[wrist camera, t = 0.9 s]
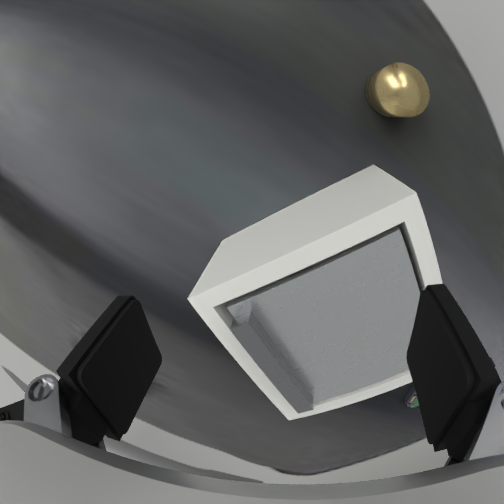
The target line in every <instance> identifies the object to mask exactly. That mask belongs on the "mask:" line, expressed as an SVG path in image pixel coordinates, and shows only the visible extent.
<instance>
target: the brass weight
mask: <svg viewBox="0 0 504 504" xmlns="http://www.w3.org/2000/svg"><path fill="white" fill-rule="evenodd" d="M365 95H366V99H367V101H368V103H369V105H370V106H371V107H372V108H373V109H374V110H375V111H376V112H377V113H379V114H381V115H383V116H386V117H414V116H417V115H419V114H420V113H422V112H423V111H424V110H425V108H426V107H427V105H428V102H429V96H430V94H429V87H428V84H427V82H426V80H425V78H424V77H423V75H422V74H421V73H420V72H419V71H418V70H417V69H416V68H414V67H412V66H411V65H408V64H405V63H393V64H390V65H388V66H386V67H384V68H382V69H381V70H379V71H377V72H376V73H374V74H372V75H371V76H370V77H369V79H368V80H367V82H366V85H365Z"/></svg>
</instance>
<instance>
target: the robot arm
mask: <svg viewBox="0 0 504 504" xmlns="http://www.w3.org/2000/svg"><path fill="white" fill-rule="evenodd" d="M406 359H407V364H408V367H409V371H410V374H411V377H412V381H413V384H414V388H415V391H416V395H417V399H418V403H419V406H420V410H421V414H422V418H423V423H424V427H425V431H426V436H427V440H428V442H429V444H433V446H434V451H435V452H436V451H440V450H444V449H447V451H448V455H449V458H448V460H447V462H446V464H445V466H444V467H441V468H437V469H433V470H428V471H424V472H419V473H415V474H410V475H404V476H397V477H391V478H385V479H378V480H370V481H362V482H351V483H338V484H318V485H317V484H316V485H288V484H287V485H286V484H265V483H251V482H241V481H232V480H224V479H217V478H210V477H204V476H198V475H193V474H188V473H183V472H178V471H174V470H169V469H165V468H161V467H157V466H153V465H149V464H146V463H142V462H139V461H135V460H132V459H128V458H125V457H122V456H119V455H116V454H113V453H110V452H107V451H106V448H105V445H104V441H103V437H104V435H106V436H107V437H108V438H112V439H115V440H118V441H120V439H121V437H122V435H123V434H126V432H127V431H128V429H129V427H130V425H131V423H132V421H133V419H134V417H135V415H136V413H137V411H138V409H139V407H140V405H141V403H142V401H143V399H144V397H145V395H146V393H147V391H148V389H149V387H150V385H151V383H152V381H153V379H154V377H155V375H156V373H157V371H158V369H159V367H160V365H161V362H162V356H161V353H160V351H159V349H158V346H157V344H156V342H155V339H154V337H153V334H152V332H151V329H150V327H149V324H148V322H147V319H146V317H145V314H144V311H143V309H142V306H141V304H140V302H139V301H138V300H136V298H135V297H134V296H118V297H117V298H116V299H115V300H114V301H113V302H112V303H111V304H110V306H109V307H108V308H107V309H106V310H105V311H104V313H103V314H102V315H101V316H100V317H99V318H98V320H97V321H96V322H95V323H94V324H93V326H92V327H91V328H90V329H89V330H88V332H87V333H86V334H85V335H84V337H83V338H82V339H81V340H80V341H79V343H78V344H77V345H76V346H75V348H74V349H73V350H72V351H71V353H70V354H69V355H68V356H67V358H66V359H65V360H64V362H63V363H62V364H61V365H60V367H59V368H58V369H57V371H56V372H57V373H58V374H59V376H60V377H61V378H60V380H59V381H58V380H57V379H56V377H54V376H53V375H51V374H45V375H41V376H39V377H37V378H35V379H34V380H33V381H31V383H30V384H29V385H28V387H27V389H26V391H25V399H23V400H21V401H18V402H16V403H13V404H11V405H8V406H5V407H2V408H0V504H504V381H503V382H501V380H500V378H499V375H498V373H497V371H496V369H495V367H494V365H493V363H492V361H491V360H490V358H489V356H488V354H487V352H486V350H485V349H484V347H483V345H482V343H481V341H480V340H479V338H478V336H477V334H476V333H475V331H474V329H473V328H472V326H471V324H470V323H469V321H468V319H467V318H466V316H465V315H464V313H463V311H462V310H461V308H460V307H459V305H458V304H457V302H456V301H455V299H454V298H453V296H452V295H451V293H450V292H449V290H448V289H447V287H446V286H445V285H444V284H434V285H427V286H426V288H425V290H422V291H421V293H420V297H419V303H418V307H417V312H416V317H415V321H414V326H413V330H412V334H411V338H410V342H409V346H408V350H407V355H406Z"/></svg>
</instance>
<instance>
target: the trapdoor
mask: <svg viewBox="0 0 504 504" xmlns="http://www.w3.org/2000/svg"><path fill="white" fill-rule="evenodd" d="M419 297H420V291H419V288H418V284H417V281H416V277H415V274H414V271H413V267H412V264H411V261H410V258H409V255H408V252H407V249H406V246H405V243H404V240H403V237H402V234H401V231H400V229H399V228H398V227H397V226H394V227H392V228H390V229H388V230H386V231H384V232H382V233H380V234H377V235H375V236H373V237H371V238H369V239H367V240H365V241H363V242H361V243H358V244H356V245H354V246H352V247H350V248H348V249H345V250H343V251H341V252H339V253H337V254H335V255H332V256H330V257H328V258H326V259H324V260H321V261H319V262H317V263H315V264H312V265H310V266H308V267H306V268H304V269H301V270H299V271H297V272H295V273H292V274H290V275H288V276H285V277H283V278H281V279H279V280H276V281H274V282H272V283H269V284H267V285H265V286H262V287H260V288H258V289H255V290H253V291H251V292H248V293H246V294H244V295H241V296H239V297H237V298H234V299H232V300H230V301H229V303H228V306H227V309H228V310H229V312H230V313H231V314H232V316H233V317H234V318H233V321H232V324H231V327H230V331H231V332H232V333H233V335H234V336H235V337H236V339H237V340H238V341H239V342H240V344H241V345H242V346H243V348H244V349H245V350H246V351H247V353H248V354H249V355H250V356H251V358H252V359H253V360H254V361H255V363H256V364H257V365H258V366H259V368H260V369H261V370H262V371H263V373H264V374H265V375H266V376H267V377H268V379H269V380H270V381H271V382H272V384H273V385H274V386H275V387H276V388H277V390H278V391H279V392H280V393H281V394H282V396H283V397H284V398H285V399H286V400H287V401H288V403H289V404H290V405H291V406H292V407H293V408H294V410H295V411H296V412H297V413H298V414H299V413H303V412H307V411H311V410H314V406H313V403H316V402H319V401H323V400H326V399H329V398H333V397H336V396H339V395H342V394H345V393H348V392H351V391H354V390H357V389H359V388H362V387H365V386H368V385H370V384H373V383H376V382H378V381H381V380H383V379H386V378H389V377H391V376H393V375H396V374H398V373H401V372H403V371H405V370H408V369H409V367H408V364H407V359H406V355H407V350H408V346H409V342H410V338H411V334H412V330H413V326H414V321H415V317H416V312H417V307H418V303H419Z"/></svg>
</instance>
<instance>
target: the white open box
mask: <svg viewBox="0 0 504 504" xmlns="http://www.w3.org/2000/svg"><path fill="white" fill-rule="evenodd" d="M394 226H397V227H398V228H399V229H400V231H401V234H402V237H403V240H404V243H405V246H406V249H407V252H408V255H409V258H410V261H411V264H412V267H413V271H414V274H415V277H416V281H417V284H418V288H419V291H420V293H421V291H422V290H425V288H426V286H427V285H434V284H443V283H442V279H441V274H440V270H439V266H438V262H437V258H436V254H435V250H434V247H433V243H432V240H431V236H430V233H429V229H428V226H427V223H426V220H425V217H424V214H423V210H422V207H421V205H420V202H419V199H418V196H417V193H416V192H415V191H413V190H412V189H411V188H409V187H408V186H406V185H405V184H403V183H402V182H400V181H399V180H397V179H396V178H394V177H393V176H391V175H389V174H388V173H386V172H385V171H383V170H382V169H380V168H378V167H377V166H375V165H372V166H370V167H368V168H365V169H363V170H361V171H359V172H357V173H355V174H353V175H351V176H349V177H347V178H345V179H343V180H341V181H339V182H337V183H335V184H332V185H330V186H328V187H326V188H324V189H322V190H320V191H318V192H316V193H314V194H312V195H310V196H308V197H306V198H304V199H302V200H300V201H298V202H296V203H294V204H292V205H290V206H288V207H286V208H284V209H282V210H280V211H278V212H276V213H274V214H272V215H270V216H268V217H266V218H264V219H262V220H261V221H259V222H257V223H255V224H253V225H251V226H249V227H247V228H245V229H243V230H241V231H239V232H237V233H235V234H233V235H231V236H229V237H228V238H226V239H224V240H222V242H221V243H220V245H219V247H218V248H217V250H216V252H215V253H214V255H213V257H212V258H211V260H210V262H209V263H208V265H207V267H206V268H205V270H204V272H203V273H202V275H201V277H200V278H199V280H198V282H197V284H196V285H195V287H194V289H193V290H192V292H191V294H190V295H189V297H188V300H189V302H190V303H191V304H192V306H193V307H194V308H195V310H196V311H197V312H198V314H199V315H200V316H201V318H202V319H203V320H204V321H205V323H206V324H207V325H208V327H209V328H210V329H211V330H212V332H213V333H214V334H215V335H216V337H217V338H218V339H219V340H220V342H221V343H222V344H223V345H224V347H225V348H226V349H227V350H228V351H229V353H230V354H231V355H232V356H233V357H234V359H235V360H236V361H237V362H238V363H239V365H240V366H241V367H242V368H243V369H244V371H245V372H246V373H247V374H248V375H249V376H250V378H251V379H252V380H253V381H254V382H255V383H256V384H257V386H258V387H259V388H260V389H261V390H262V391H263V392H264V394H265V395H266V396H267V397H268V398H269V399H270V400H271V401H272V403H273V404H274V405H275V406H276V407H277V408H278V409H279V410H280V411H281V412H282V413H283V415H284V416H285V417H286V418H287V419H288V420H293V419H297V418H302V417H306V416H310V415H314V414H318V413H321V412H325V411H329V410H332V409H336V408H339V407H343V406H346V405H349V404H352V403H356V402H359V401H362V400H365V399H368V398H371V397H374V396H376V395H379V394H382V393H385V392H387V391H390V390H393V389H395V388H398V387H400V386H403V385H405V384H408V383H410V382H413V381H412V377H411V374H410V371H409V369H408V370H405V371H403V372H401V373H398V374H396V375H393V376H391V377H389V378H386V379H383V380H381V381H378V382H376V383H373V384H370V385H368V386H365V387H362V388H359V389H357V390H354V391H351V392H348V393H345V394H342V395H339V396H336V397H333V398H329V399H326V400H323V401H319V402H316V403H313V406H314V410H311V411H307V412H303V413H299V414H298V413H297V412H296V411H295V410H294V408H293V407H292V406H291V405H290V404H289V403H288V401H287V400H286V399H285V398H284V397H283V396H282V394H281V393H280V392H279V391H278V390H277V388H276V387H275V386H274V385H273V384H272V382H271V381H270V380H269V379H268V377H267V376H266V375H265V374H264V373H263V371H262V370H261V369H260V368H259V366H258V365H257V364H256V363H255V361H254V360H253V359H252V358H251V356H250V355H249V354H248V353H247V351H246V350H245V349H244V348H243V346H242V345H241V344H240V342H239V341H238V340H237V339H236V337H235V336H234V335H233V333H232V332H231V331H230V327H231V324H232V321H233V318H234V317H233V316H232V314H231V313H230V312H229V310H228V309H227V306H228V303H229V301H230V300H232V299H234V298H237V297H239V296H241V295H244V294H246V293H248V292H251V291H253V290H255V289H258V288H260V287H262V286H265V285H267V284H269V283H272V282H274V281H276V280H279V279H281V278H283V277H285V276H288V275H290V274H292V273H295V272H297V271H299V270H301V269H304V268H306V267H308V266H310V265H312V264H315V263H317V262H319V261H321V260H324V259H326V258H328V257H330V256H332V255H335V254H337V253H339V252H341V251H343V250H345V249H348V248H350V247H352V246H354V245H356V244H358V243H361V242H363V241H365V240H367V239H369V238H371V237H373V236H375V235H377V234H380V233H382V232H384V231H386V230H388V229H390V228H392V227H394Z"/></svg>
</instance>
